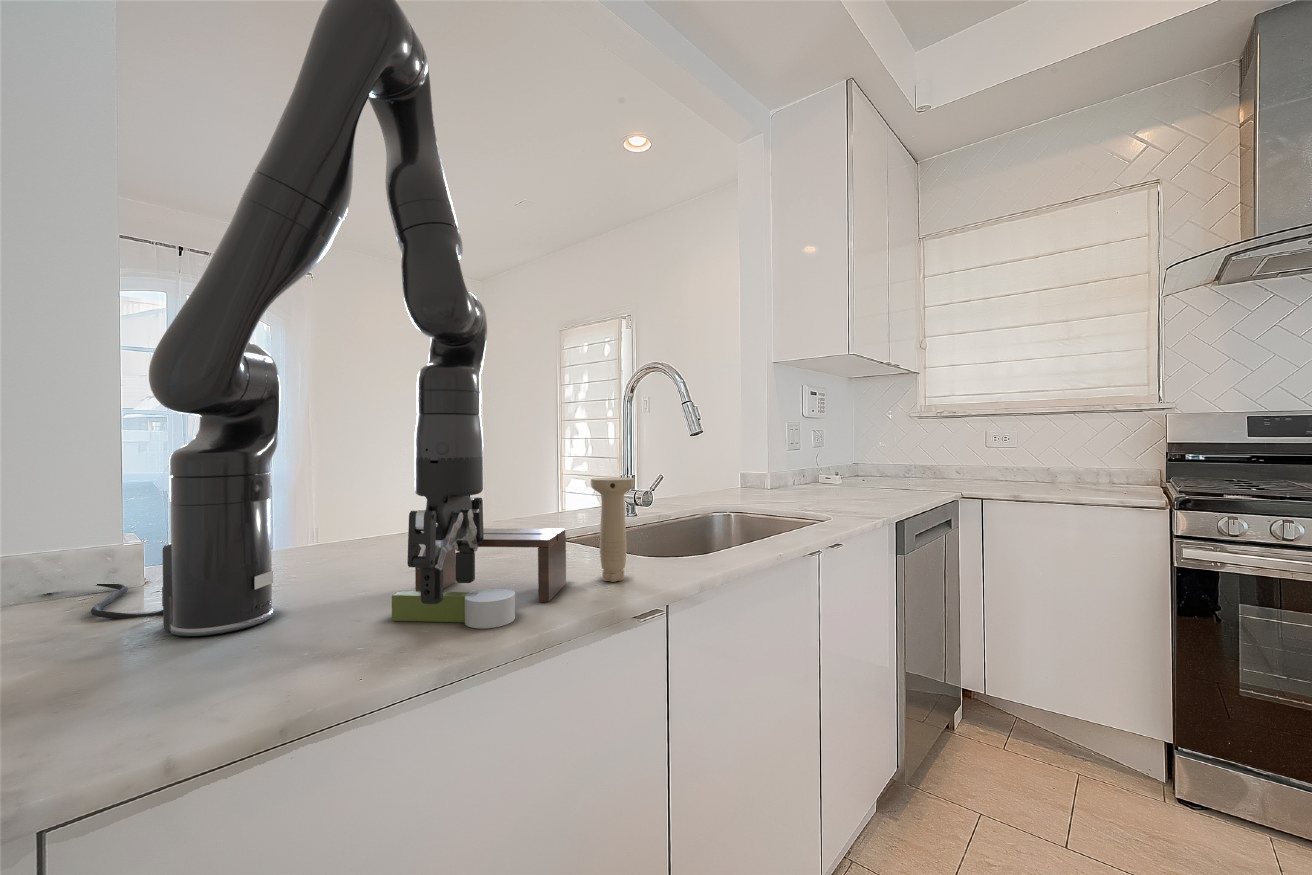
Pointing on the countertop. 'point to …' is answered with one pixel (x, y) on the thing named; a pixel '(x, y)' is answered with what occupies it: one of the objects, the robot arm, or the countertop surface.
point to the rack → (545, 539)
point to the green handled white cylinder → (458, 608)
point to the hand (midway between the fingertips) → (449, 592)
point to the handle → (612, 525)
